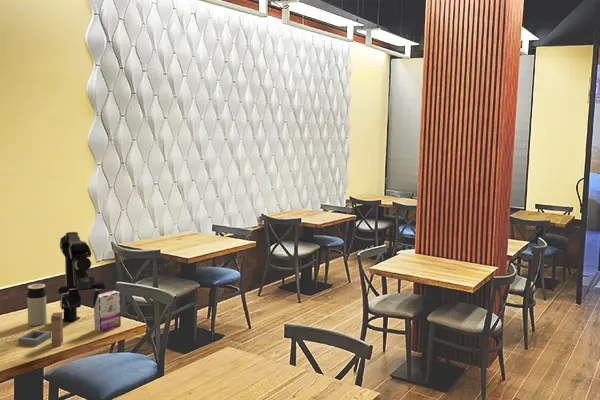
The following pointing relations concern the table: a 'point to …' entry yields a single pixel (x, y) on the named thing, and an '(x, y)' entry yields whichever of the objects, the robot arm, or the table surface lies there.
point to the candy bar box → (107, 311)
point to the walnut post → (57, 329)
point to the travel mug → (36, 304)
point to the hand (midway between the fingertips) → (82, 308)
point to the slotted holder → (29, 337)
